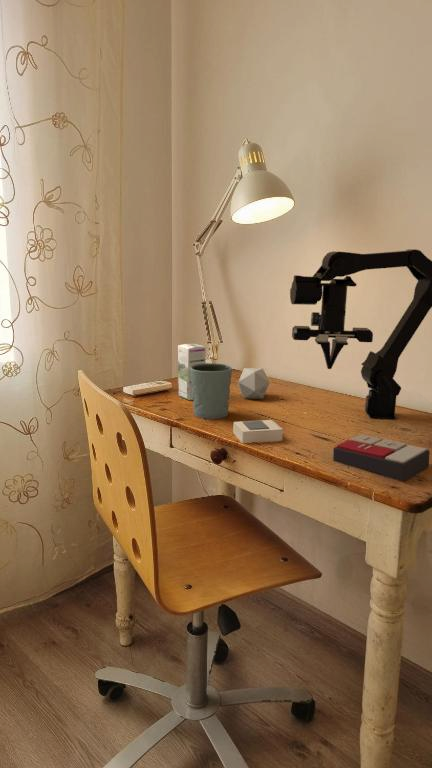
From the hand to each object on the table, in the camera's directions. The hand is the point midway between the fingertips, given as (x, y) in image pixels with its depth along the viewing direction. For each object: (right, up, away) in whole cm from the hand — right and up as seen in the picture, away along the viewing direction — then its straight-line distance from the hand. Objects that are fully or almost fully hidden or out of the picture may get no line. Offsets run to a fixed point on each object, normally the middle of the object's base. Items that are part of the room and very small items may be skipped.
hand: (329, 368), depth 142 cm
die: (-18, -8, +19) cm, 27 cm away
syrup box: (-35, -8, +18) cm, 40 cm away
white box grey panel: (-14, -14, -14) cm, 24 cm away
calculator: (+4, -20, -29) cm, 35 cm away
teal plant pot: (-29, -11, +2) cm, 32 cm away
